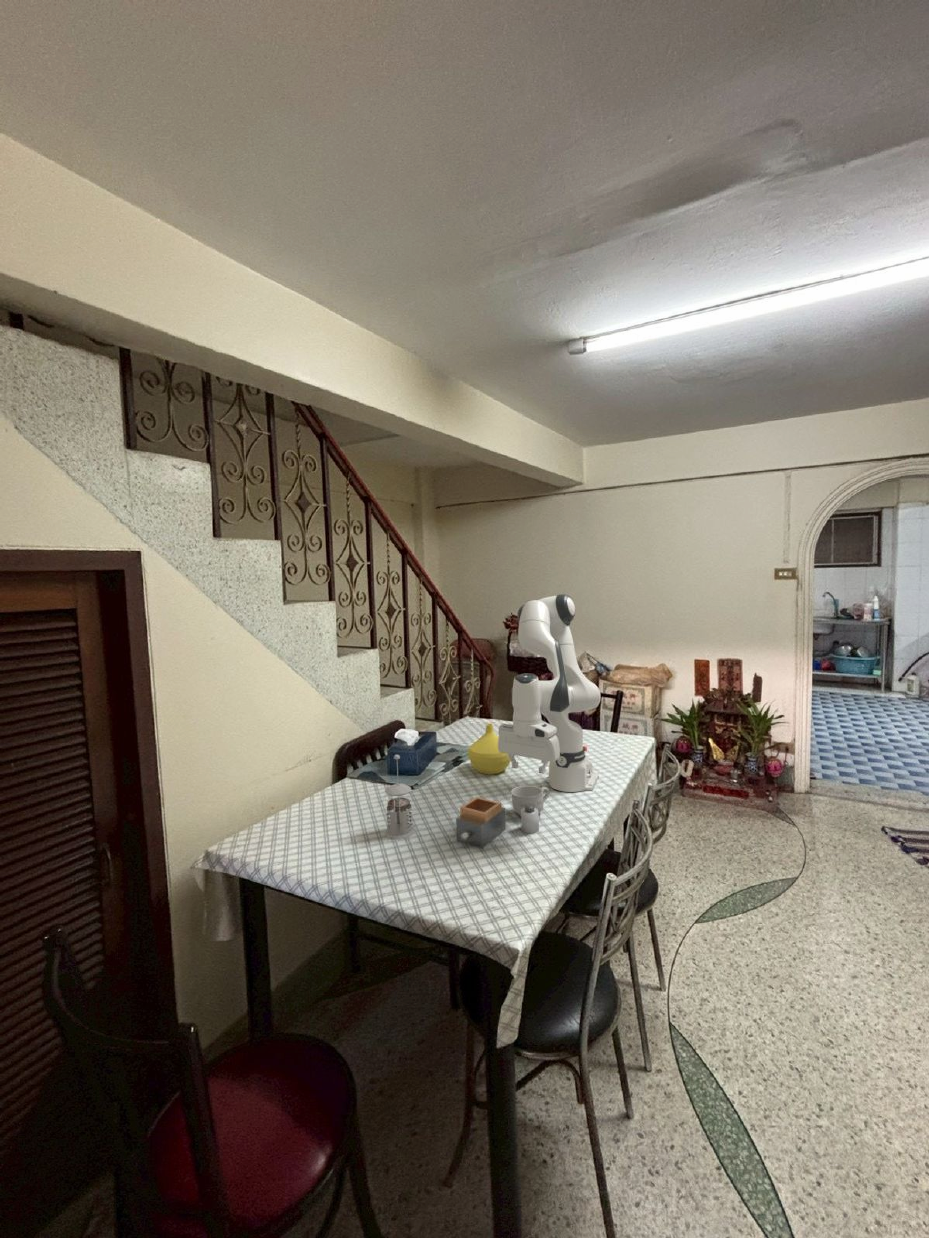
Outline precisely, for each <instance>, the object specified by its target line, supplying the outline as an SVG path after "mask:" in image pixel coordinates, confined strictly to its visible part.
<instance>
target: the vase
mask: <svg viewBox="0 0 929 1238" xmlns="http://www.w3.org/2000/svg"><path fill="white" fill-rule="evenodd" d="M498 738H499V735H497V734H496V733H495V732H494V724H493V723H486V724H485V733H484V734H483V735H482V736H480V737H479V738H478V739H477V740H476V741H475V742H473V743H471V744H470V746H469V747H468V750H467V756H468V759H469V762H470V763H471V765H472V767H474V769H475V770H476V771H477V772H478V773H481V774H484V775H498V774H501V773H502V772H504V771H505V770H506V769H507V768H508V766H509V765H510V763H511V761H510V759H509V757H508V754H506V753H500V752H499V750H498Z"/></svg>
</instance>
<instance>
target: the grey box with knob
mask: <svg viewBox="0 0 929 1238" xmlns="http://www.w3.org/2000/svg"><path fill="white" fill-rule="evenodd" d="M459 811H460V813H459V814H460V815H459V816H458V817H456V818H455V819H456V820H455V823H456V825H455V827H456V841H457V842H459V843H462V844H466V845H469V846H472V847H475V848H478V849H483V848H485V847H486V846H487V845H489V844H490V843H491V842H492V841H493V840H494V839H496V838H497V837H498V836H500V835H501V834H502V833H503V832H505V830H506V829H507V827H506V826H507V824H506V821H507V820H506V807H502V802H499V801H494V800H490V799H486V798H481V797H478V796H476V797H475V798H473V799H471V800H470V801H468V802H467V803H465V804H464V805H463V804H462V806H460V807H459Z"/></svg>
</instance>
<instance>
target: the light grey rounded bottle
mask: <svg viewBox="0 0 929 1238" xmlns="http://www.w3.org/2000/svg"><path fill="white" fill-rule="evenodd" d="M539 814H540V813H538V809H536V808H534V805H531V804H527V805H525V808H523V809H521V816H520V822H521V823H520V826H521V831H522V832H523V833H525V834H536V833H538V832H539V830H540V825H539V824H540V823H539V822H540V818H539V817H540V816H539Z"/></svg>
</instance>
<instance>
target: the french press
mask: <svg viewBox="0 0 929 1238" xmlns="http://www.w3.org/2000/svg"><path fill="white" fill-rule="evenodd" d="M393 759H394V760H399V759H401V756H400V754H395V755H394V756H393ZM398 763H399V762H398V761H396V771H397V772H396V774H397V775H396V776H397V777H396V778H399V768H398V767H399V765H398ZM410 791H412V787H411V786H409V785H407V784H406V783H395V784H391V785H390V786H388V787H387V788H386V789H385V794H386V795H388V796H392V797H395V798H392V799H390V800H388V801H387V806H386V818H387V819H386V820H387V822H386V823H387V826H386V827H387V828H386V830H385V831H384V836H385V837H386V838H389V839H392V840H403V839H407V838H410V837H412V836H414V835H415V833H416V828H415V827H414V826H413V815H412V814H413V812H412V809H413V808H412V804H411V799H409V798H407V797H401V796H405V795H406V794H409V793H410Z"/></svg>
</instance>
